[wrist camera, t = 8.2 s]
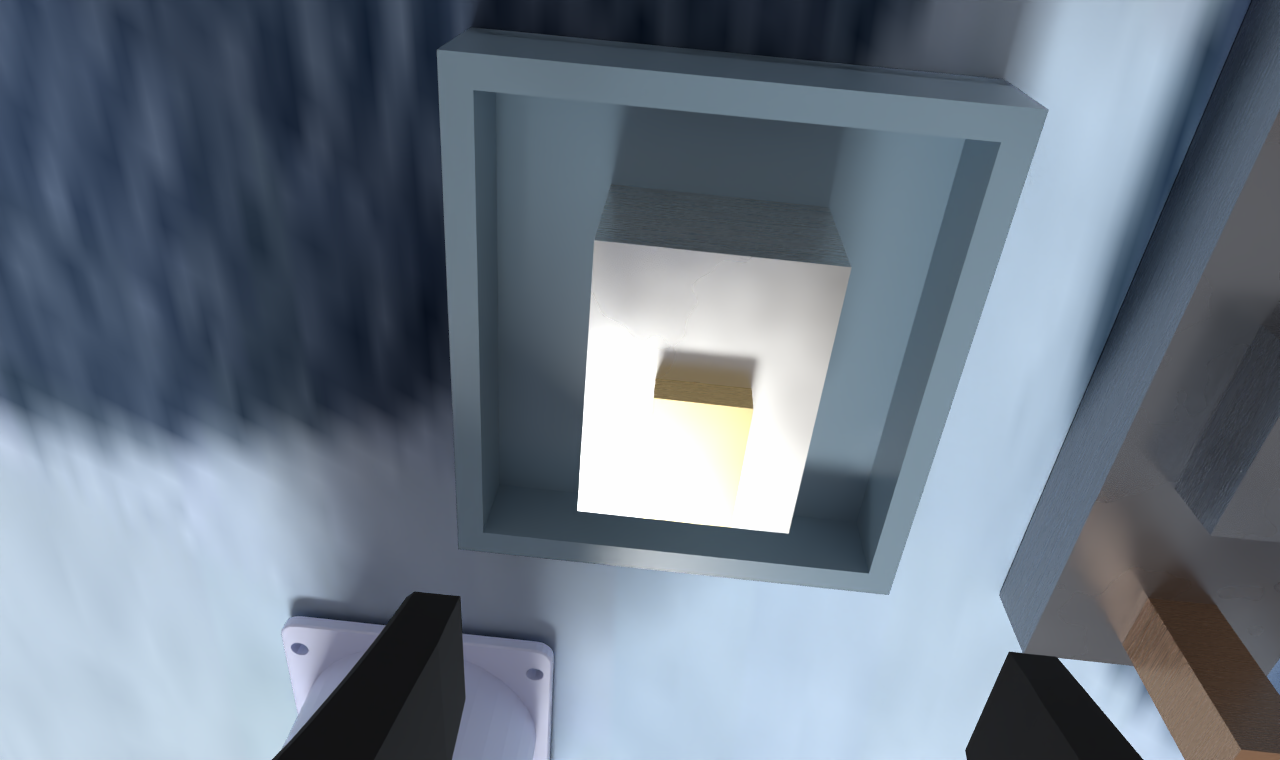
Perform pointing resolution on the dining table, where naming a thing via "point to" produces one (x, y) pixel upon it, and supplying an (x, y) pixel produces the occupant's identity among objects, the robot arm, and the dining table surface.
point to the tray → (733, 167)
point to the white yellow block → (706, 355)
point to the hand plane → (1183, 447)
